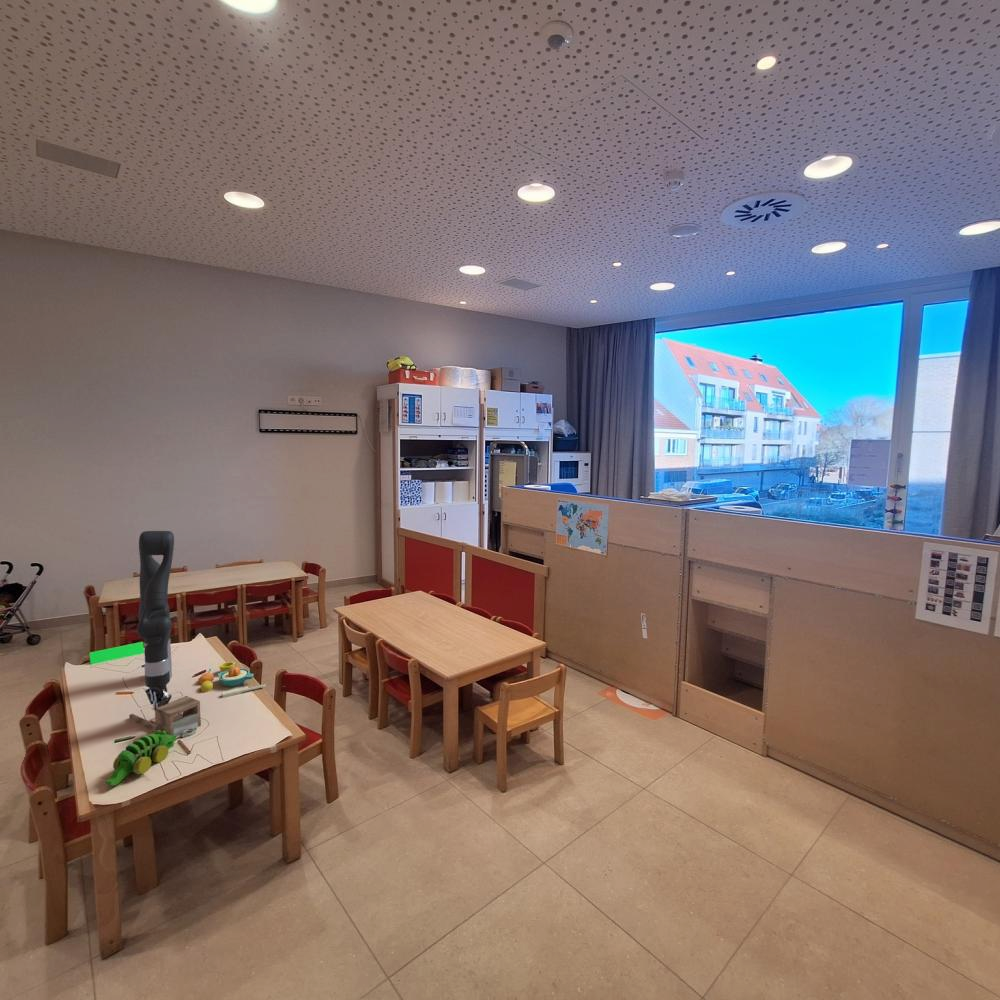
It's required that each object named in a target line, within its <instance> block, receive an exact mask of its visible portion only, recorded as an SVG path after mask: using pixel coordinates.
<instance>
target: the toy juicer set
mask: <svg viewBox="0 0 1000 1000" xmlns="http://www.w3.org/2000/svg"><path fill="white" fill-rule="evenodd" d="M235 664H236V663H235V662H234V661H226V662H222V663H220V664H219V665H218V666H219V671H220V672H219V673H218V674H217V676H218V679H219V681H220V682H221V684H222V685H223V686H225V687H229V686H232V687H238V686H240V685H243V683H245V682H246V681H247V680H252V679H253V678H254V676H255V675H254V673H250V670H249V669H247V668H239V667H238V666H235ZM211 671H212V668H209V670H208V671H207V673H206V672H205V673H203V674H201V675H200V677H199V678H198V684H200V690H201V692H203V693H209V692H212V690H213V689H214V684H213V681H214V679H215V678H214V675H213V674H212V673H210V672H211ZM237 685H238V686H237ZM265 687H267V686H266V684H262V685H261V684H260V685H256V686H252V687H248V688H247V687H246V688H243V689H242V688H241V689H240V688H234V689H229V690H225V691H222V692H221V696H222V698H224V699H225V698H227V697H231V696H236V695H241V694H242V693H245V692H249V691H253V690H254V691H255V690H258V689H261V688H262V689H263V688H265Z"/></svg>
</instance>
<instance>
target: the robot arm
mask: <svg viewBox="0 0 1000 1000" xmlns="http://www.w3.org/2000/svg"><path fill="white" fill-rule="evenodd" d="M174 548H175V536H174V533H173V532H172V531H171V530H146V531H145V530H144V531H142V532H141V533H140V534H139V538H138V552H139V564H140V566H139V606H138V624H137V627H136V633H137V635H138V637H139V638H140V639H143V646H144V653H143V654H144V680H145V681H144V683H145V684H144V685H145V687H147V688H148V689H145V693H146V696H147V698H148V700H149V703H150V705H152V706H153V708H154V712H155V711H156V710H157V709H156V708H158V707H161V706H163V705H166V704H168V703H170V701H171V699H172V694H169V693H168V688H167V685H168V684H169V683H170V682H171V678H172V677H173V669H172V665H173V664H172V652H171V651H172V650H171V649H172V647H171V631H172V628H173V622H172V621H173V620H172V619H171V618H170V617H171V616H170V615H171V614H170V613H171V612H170V609H171V608H170V605H169V603H168V593H169V581H170V580H169V579H170V574H171V570H172V562H173V555H174ZM153 556H163V557H162V561H161V563H159V562H158V561H156V559H155V558H153Z"/></svg>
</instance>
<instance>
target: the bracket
mask: <svg viewBox="0 0 1000 1000" xmlns="http://www.w3.org/2000/svg"><path fill="white" fill-rule="evenodd" d="M144 649H145V647H144V641H140V642H135V643H130V644H124V645H121V646H116V647H110V648H105V649H101V650H96V651H91V652H89V662H90V664H91V665H95V664H96V665H97V664H100V663H101V664H102V663H105V662H109V661H114V660H119V659H124V658H129V657H133V656H139V655H144V654H145V653H144Z"/></svg>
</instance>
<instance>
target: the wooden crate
mask: <svg viewBox="0 0 1000 1000" xmlns="http://www.w3.org/2000/svg"><path fill="white" fill-rule="evenodd" d="M156 709H157V710H156V711H155V710H154V718H155V721H156V724H154V723H152V722H151V721H150V720H147V719H145V718H143V717H140V716H138V715H136V714H134V713H130V714H129V715H128V716H129V720H131V721H132V722H135V723H137V724H139V726H143V728H146V729H148V730H150V731H152V732H154V733H156V731H157V730H161V732H162V731H166V734H169V735H175V736H176V737H177V736H179V735H181V732H183V731H186V730H187V729H189V728H193V729H196V728H199V727H201V726H202V722H201V721H202V719H201V701H200V700H198V699H195V698H193V697H190V696H187V695H185V696H183V697H180V698H178V699H176V700H173V701H171V702H170V701H169V703H168V704H166V705H163V706H161V707H158V708H156ZM177 714H179V715H181V716H183V717H182V718H180V719H178V720H175V721H173V716H174V715H177ZM160 734H161V733H160ZM179 737H180V736H179Z"/></svg>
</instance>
